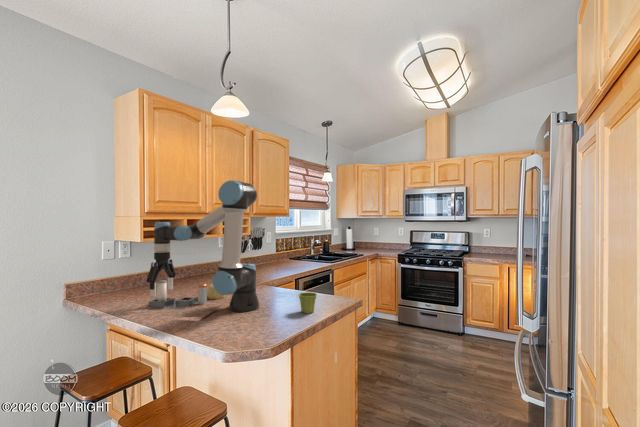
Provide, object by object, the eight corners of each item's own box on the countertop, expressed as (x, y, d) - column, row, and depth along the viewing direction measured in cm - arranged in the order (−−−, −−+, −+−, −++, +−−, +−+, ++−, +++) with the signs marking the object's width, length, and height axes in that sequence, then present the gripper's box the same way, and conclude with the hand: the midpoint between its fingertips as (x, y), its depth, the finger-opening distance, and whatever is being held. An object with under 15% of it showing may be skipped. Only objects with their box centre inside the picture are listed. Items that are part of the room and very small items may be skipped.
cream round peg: (168, 304, 167) (168, 280, 167) (163, 306, 163) (163, 281, 163) (160, 304, 168) (160, 279, 168) (155, 306, 163) (155, 281, 164)
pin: (208, 305, 170) (208, 283, 170) (204, 307, 166) (204, 285, 166) (201, 305, 171) (201, 283, 171) (196, 307, 167) (196, 285, 167)
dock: (198, 304, 172) (198, 296, 172) (183, 312, 158) (183, 303, 158) (164, 303, 175) (164, 295, 175) (147, 310, 161) (147, 301, 162)
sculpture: (213, 303, 175) (213, 283, 175) (203, 299, 183) (203, 280, 183) (232, 299, 183) (232, 280, 184) (221, 296, 192) (221, 278, 192)
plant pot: (299, 309, 164) (299, 292, 164) (317, 309, 163) (317, 292, 163) (297, 314, 154) (297, 296, 154) (316, 314, 154) (316, 296, 154)
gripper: (170, 249, 178) (170, 287, 178) (138, 254, 154) (138, 298, 154) (182, 249, 177) (182, 287, 177) (152, 254, 153) (152, 298, 152)
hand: (161, 292), depth 165 cm, fingers open, 13 cm apart
